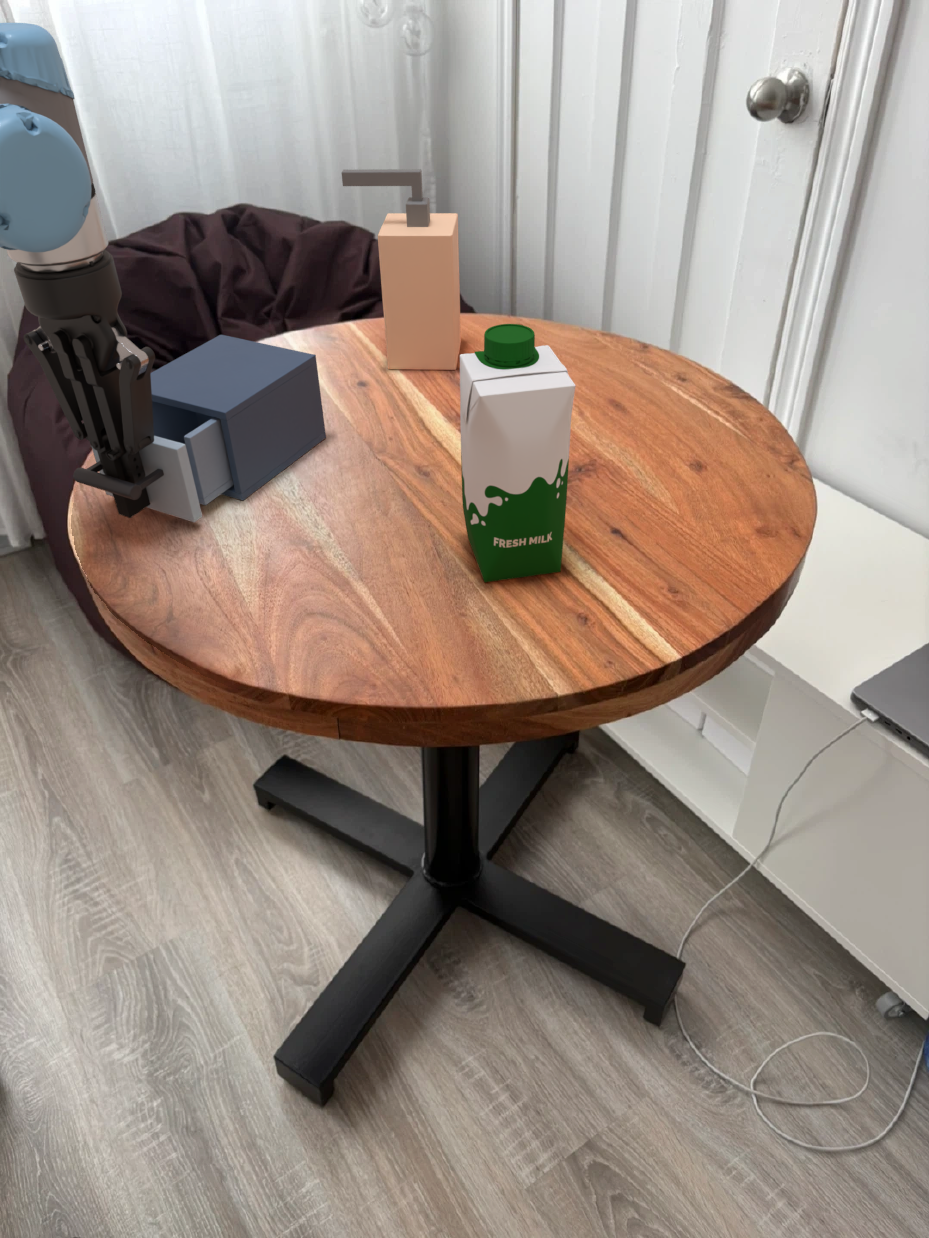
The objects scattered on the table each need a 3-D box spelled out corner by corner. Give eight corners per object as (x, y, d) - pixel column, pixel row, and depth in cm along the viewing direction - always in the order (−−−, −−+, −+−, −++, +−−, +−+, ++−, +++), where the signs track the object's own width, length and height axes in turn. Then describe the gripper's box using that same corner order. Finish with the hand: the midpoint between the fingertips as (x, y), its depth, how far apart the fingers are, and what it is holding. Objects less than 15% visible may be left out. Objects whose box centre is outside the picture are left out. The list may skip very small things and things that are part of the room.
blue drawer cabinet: (242, 501, 92) (225, 412, 86) (147, 472, 97) (124, 387, 91) (326, 437, 102) (315, 354, 96) (236, 414, 107) (220, 334, 100)
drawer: (161, 547, 84) (141, 472, 79) (71, 517, 89) (46, 444, 84) (280, 459, 97) (269, 389, 92) (196, 436, 101) (181, 368, 96)
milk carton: (546, 522, 88) (554, 316, 75) (573, 578, 81) (588, 361, 68) (455, 534, 87) (449, 327, 74) (476, 591, 80) (473, 374, 67)
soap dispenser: (461, 342, 121) (456, 160, 107) (455, 370, 115) (450, 180, 101) (365, 341, 122) (348, 161, 108) (354, 369, 116) (335, 180, 102)
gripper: (157, 253, 73) (213, 506, 88) (40, 232, 78) (112, 475, 93) (86, 283, 68) (159, 546, 83) (-34, 259, 73) (55, 512, 88)
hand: (134, 509), depth 88 cm, fingers closed
